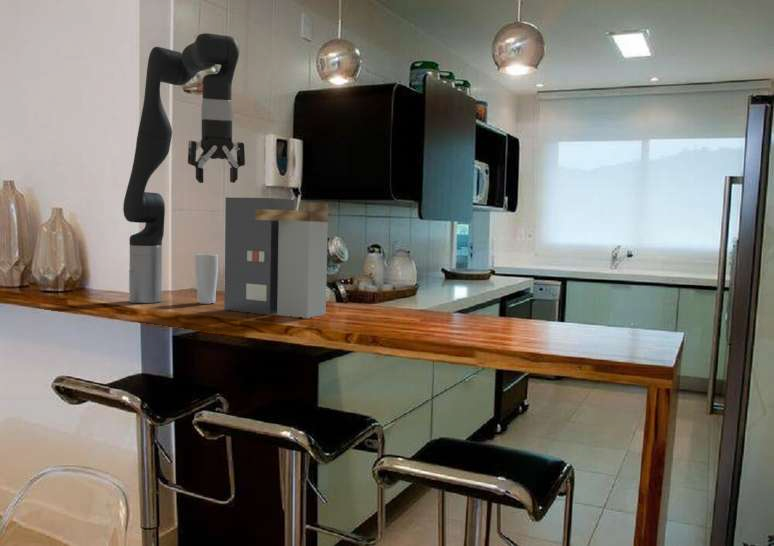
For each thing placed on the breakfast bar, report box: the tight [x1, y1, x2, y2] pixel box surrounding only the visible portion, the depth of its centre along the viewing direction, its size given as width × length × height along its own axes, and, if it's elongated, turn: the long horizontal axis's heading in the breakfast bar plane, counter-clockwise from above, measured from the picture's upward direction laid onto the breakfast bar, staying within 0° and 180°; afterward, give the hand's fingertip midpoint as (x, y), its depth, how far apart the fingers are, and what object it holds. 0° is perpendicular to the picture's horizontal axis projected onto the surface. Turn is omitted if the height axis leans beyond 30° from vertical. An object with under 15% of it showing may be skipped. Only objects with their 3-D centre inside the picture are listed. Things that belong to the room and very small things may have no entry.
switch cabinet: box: [223, 197, 295, 316], centre depth 184 cm, size 16×11×32 cm
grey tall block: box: [276, 220, 329, 319], centre depth 179 cm, size 10×9×26 cm
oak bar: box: [255, 202, 329, 222], centre depth 175 cm, size 19×5×5 cm, turn 111°
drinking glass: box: [194, 253, 219, 305], centre depth 197 cm, size 7×7×15 cm
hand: (216, 182), depth 167 cm, fingers open, 8 cm apart
